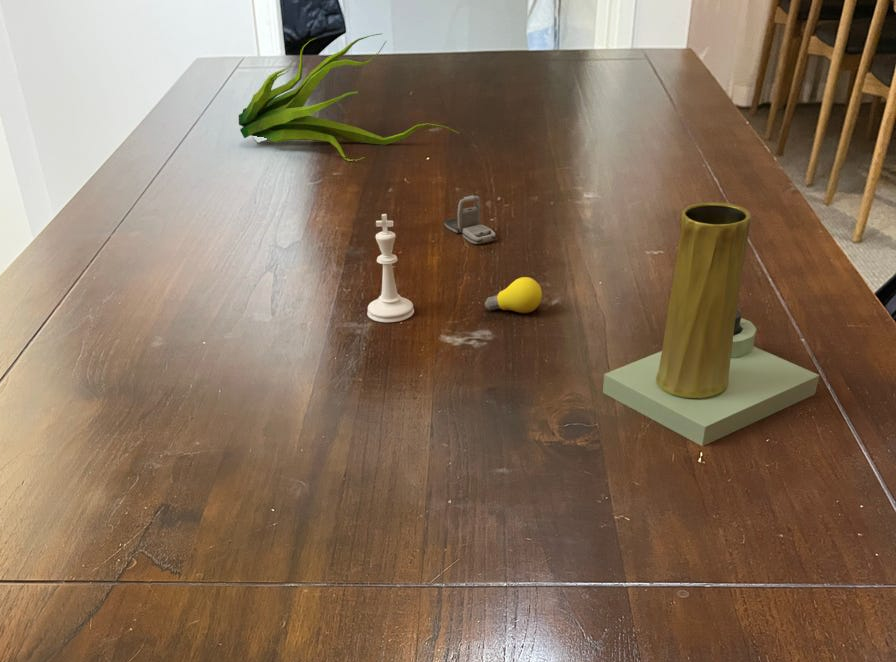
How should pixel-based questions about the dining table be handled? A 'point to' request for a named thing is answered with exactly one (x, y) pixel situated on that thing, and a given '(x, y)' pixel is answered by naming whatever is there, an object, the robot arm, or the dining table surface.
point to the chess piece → (388, 281)
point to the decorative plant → (305, 110)
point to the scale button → (737, 322)
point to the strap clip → (470, 223)
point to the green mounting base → (742, 403)
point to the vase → (704, 300)
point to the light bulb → (517, 296)
